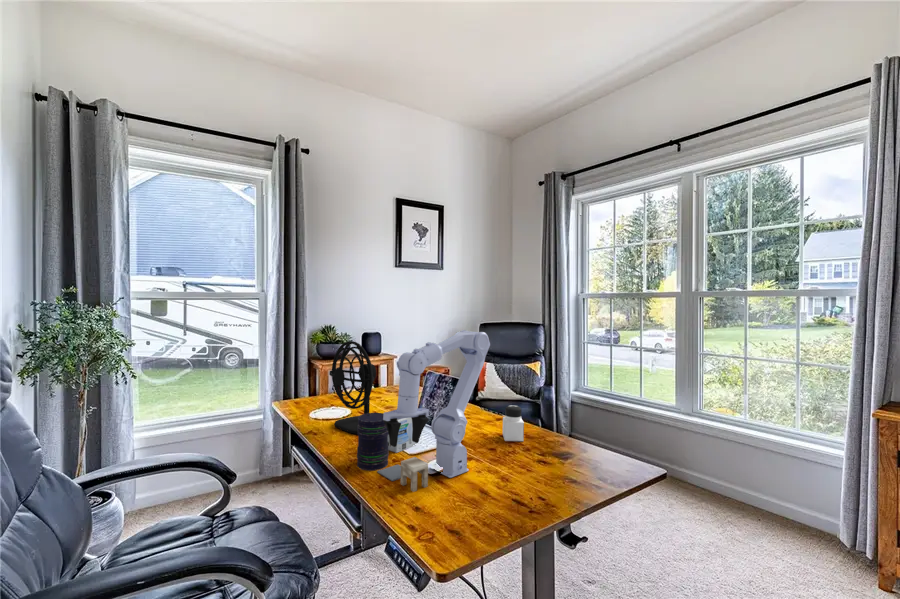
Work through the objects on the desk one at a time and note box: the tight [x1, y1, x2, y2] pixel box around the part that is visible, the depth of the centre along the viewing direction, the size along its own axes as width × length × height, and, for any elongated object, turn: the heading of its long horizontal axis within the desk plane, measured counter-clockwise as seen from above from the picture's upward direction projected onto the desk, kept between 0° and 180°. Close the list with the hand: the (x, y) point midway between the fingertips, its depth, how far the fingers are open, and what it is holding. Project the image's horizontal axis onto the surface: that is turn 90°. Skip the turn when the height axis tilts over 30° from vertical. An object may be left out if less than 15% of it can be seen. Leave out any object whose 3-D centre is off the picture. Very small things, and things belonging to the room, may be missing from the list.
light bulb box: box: [388, 418, 418, 454], centre depth 145 cm, size 11×7×11 cm, turn 143°
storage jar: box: [356, 412, 389, 471], centre depth 130 cm, size 10×10×15 cm
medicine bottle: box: [502, 405, 525, 442], centre depth 156 cm, size 7×7×12 cm
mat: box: [376, 464, 401, 482], centre depth 123 cm, size 8×8×1 cm
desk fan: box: [329, 341, 377, 435], centre depth 166 cm, size 27×18×35 cm, turn 47°
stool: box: [400, 456, 429, 493], centre depth 115 cm, size 6×5×6 cm
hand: (404, 443), depth 116 cm, fingers open, 7 cm apart
